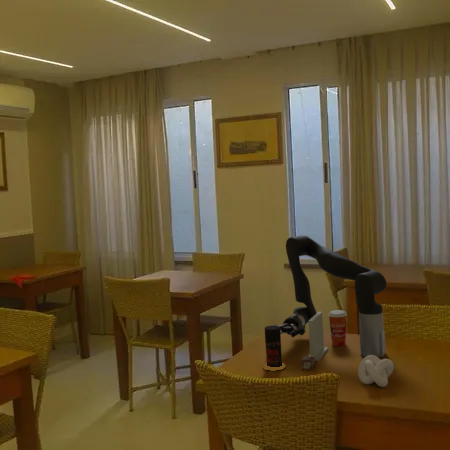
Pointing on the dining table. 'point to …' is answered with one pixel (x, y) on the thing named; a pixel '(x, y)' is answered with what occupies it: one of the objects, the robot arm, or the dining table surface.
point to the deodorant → (273, 346)
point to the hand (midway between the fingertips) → (282, 334)
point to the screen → (316, 337)
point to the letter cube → (308, 363)
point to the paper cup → (338, 327)
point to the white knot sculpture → (375, 370)
